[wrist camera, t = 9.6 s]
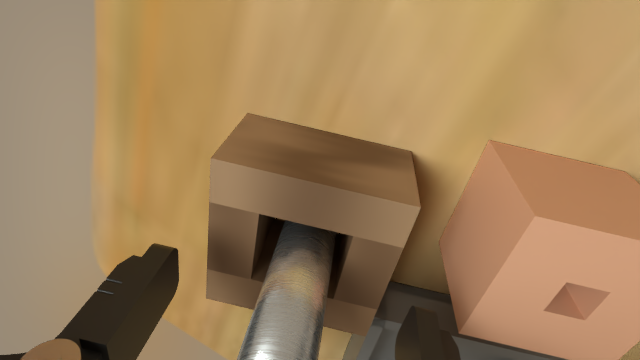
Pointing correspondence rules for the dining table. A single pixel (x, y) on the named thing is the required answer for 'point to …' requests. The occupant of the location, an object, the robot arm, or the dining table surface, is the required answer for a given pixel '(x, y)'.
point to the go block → (309, 212)
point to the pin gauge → (292, 297)
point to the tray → (476, 354)
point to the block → (546, 255)
